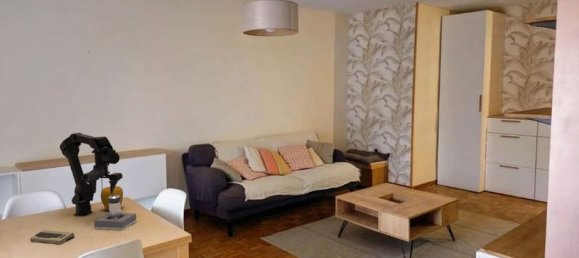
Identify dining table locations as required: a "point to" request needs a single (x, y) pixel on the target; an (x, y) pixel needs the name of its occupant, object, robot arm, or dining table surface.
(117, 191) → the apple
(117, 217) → the shiny metal cylinder
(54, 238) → the computer
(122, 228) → the square plate with hole
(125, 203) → the dining table surface
